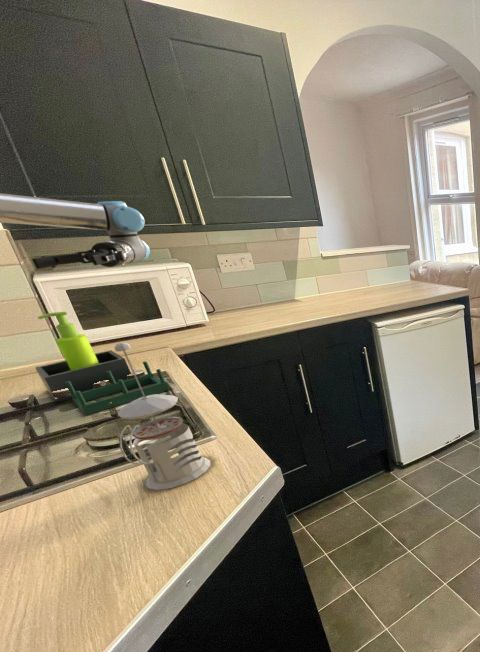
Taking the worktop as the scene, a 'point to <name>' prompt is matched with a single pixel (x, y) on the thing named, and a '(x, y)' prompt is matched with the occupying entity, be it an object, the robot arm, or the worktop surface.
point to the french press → (163, 467)
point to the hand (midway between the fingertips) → (64, 262)
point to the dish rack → (115, 387)
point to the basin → (83, 373)
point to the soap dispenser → (73, 343)
